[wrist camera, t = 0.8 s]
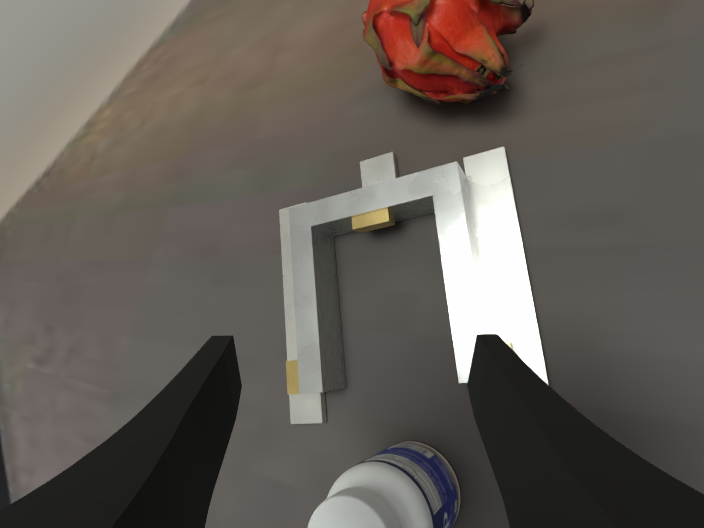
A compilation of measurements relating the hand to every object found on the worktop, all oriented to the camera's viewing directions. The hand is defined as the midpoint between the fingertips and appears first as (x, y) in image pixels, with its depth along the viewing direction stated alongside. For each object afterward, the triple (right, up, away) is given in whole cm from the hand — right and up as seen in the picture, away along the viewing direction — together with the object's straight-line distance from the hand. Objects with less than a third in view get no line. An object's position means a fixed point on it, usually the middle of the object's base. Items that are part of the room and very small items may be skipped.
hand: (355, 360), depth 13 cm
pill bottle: (+4, -10, +12) cm, 16 cm away
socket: (+3, +2, +15) cm, 15 cm away
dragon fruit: (+7, +16, +16) cm, 24 cm away
